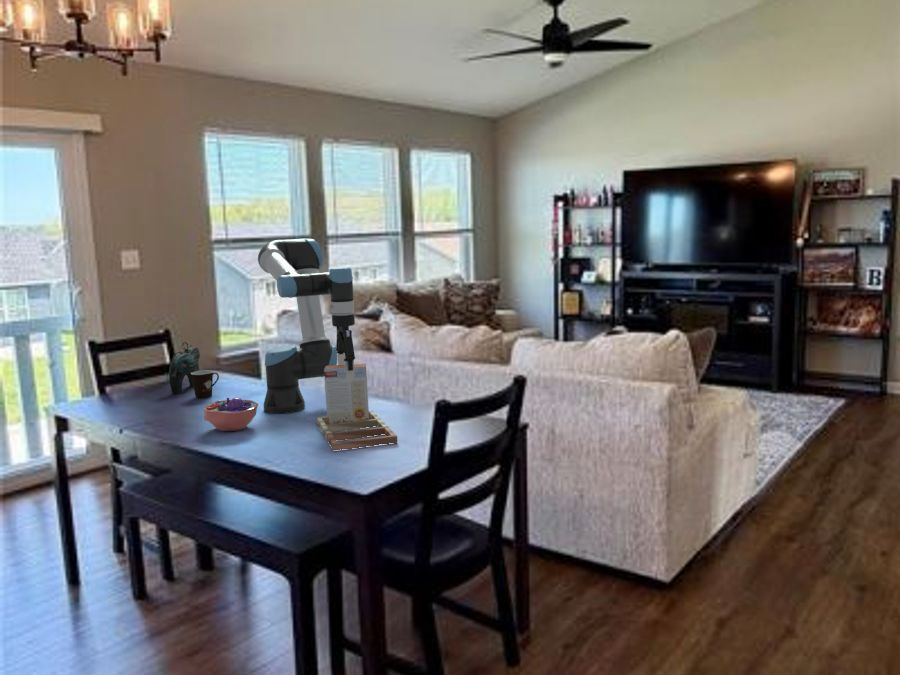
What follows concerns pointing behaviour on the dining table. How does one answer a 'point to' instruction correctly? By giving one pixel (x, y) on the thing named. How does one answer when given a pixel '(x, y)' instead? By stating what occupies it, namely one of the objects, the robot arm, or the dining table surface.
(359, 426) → the rail
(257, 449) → the dining table surface
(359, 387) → the cracker box
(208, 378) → the coffee mug
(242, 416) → the cell model
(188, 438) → the dining table surface
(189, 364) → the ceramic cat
